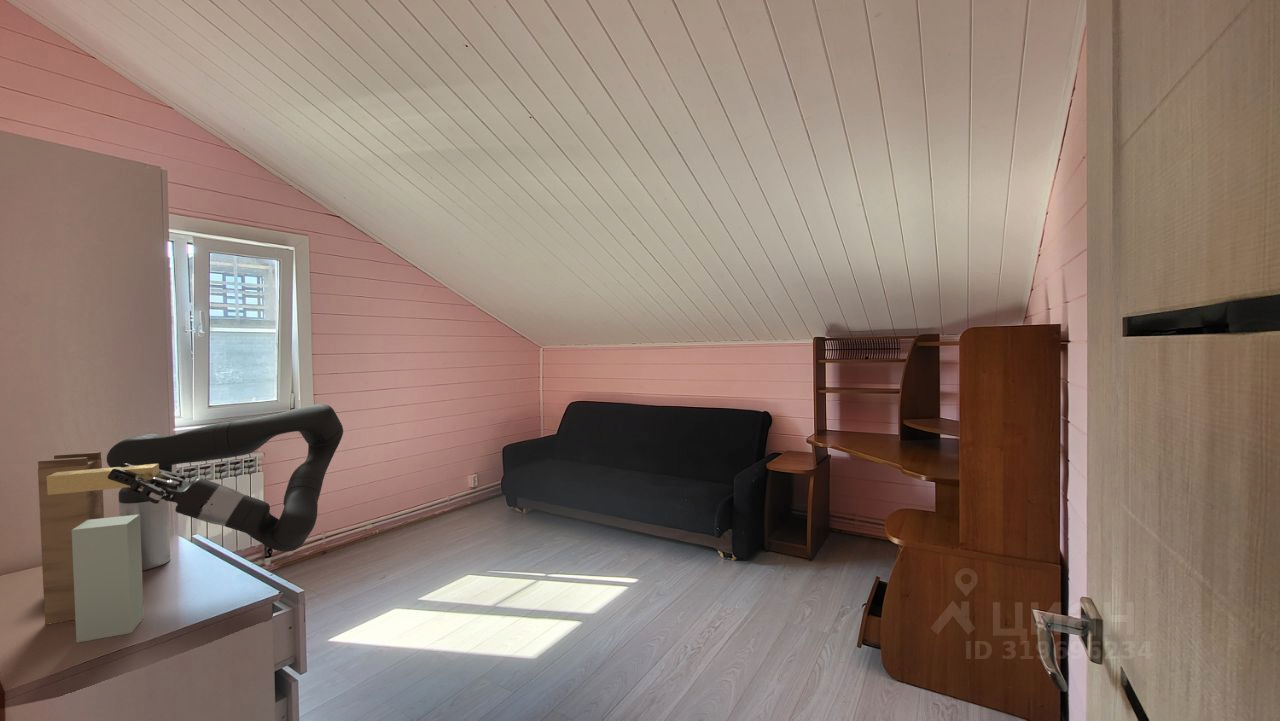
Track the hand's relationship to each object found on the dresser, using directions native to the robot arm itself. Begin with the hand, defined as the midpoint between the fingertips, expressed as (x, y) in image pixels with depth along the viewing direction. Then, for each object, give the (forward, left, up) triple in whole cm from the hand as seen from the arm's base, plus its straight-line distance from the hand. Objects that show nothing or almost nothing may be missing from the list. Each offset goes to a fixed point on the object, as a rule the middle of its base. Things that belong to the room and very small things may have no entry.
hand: (116, 470), depth 105 cm
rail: (0, -2, -3) cm, 4 cm away
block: (0, -2, -32) cm, 32 cm away
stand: (-12, -11, -32) cm, 36 cm away
